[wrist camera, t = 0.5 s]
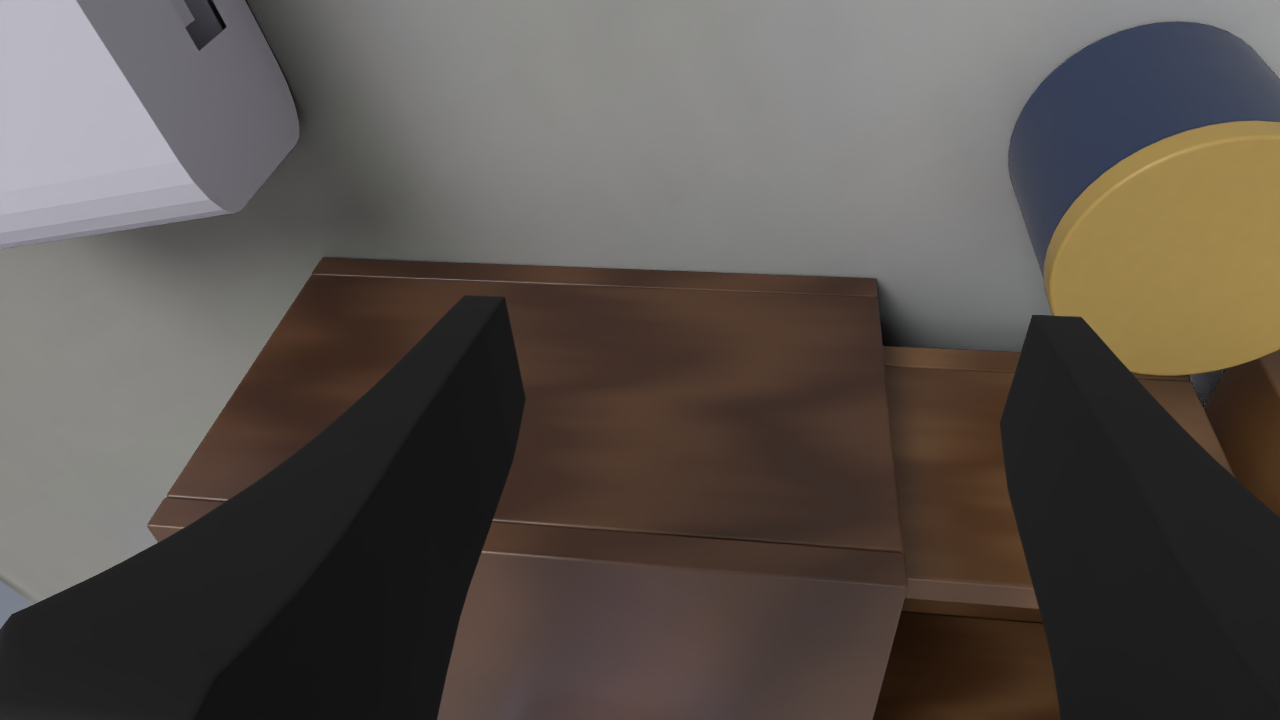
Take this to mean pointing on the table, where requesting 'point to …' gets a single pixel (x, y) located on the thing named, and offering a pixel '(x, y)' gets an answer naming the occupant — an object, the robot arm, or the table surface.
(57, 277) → the table surface
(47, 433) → the table surface
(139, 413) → the table surface
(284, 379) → the cabinet
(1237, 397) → the drawer
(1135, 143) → the tin
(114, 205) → the charger
